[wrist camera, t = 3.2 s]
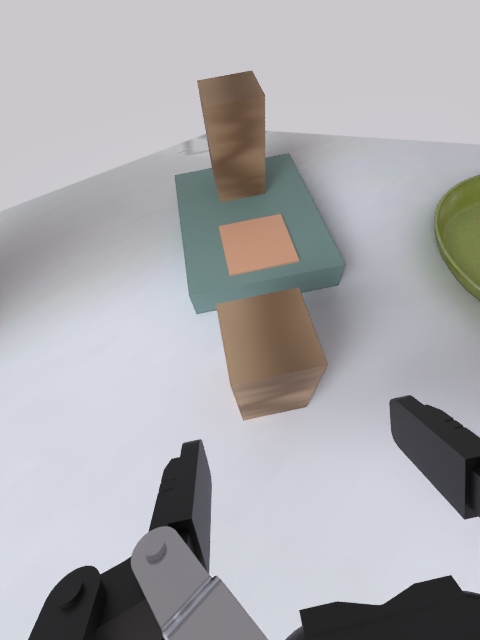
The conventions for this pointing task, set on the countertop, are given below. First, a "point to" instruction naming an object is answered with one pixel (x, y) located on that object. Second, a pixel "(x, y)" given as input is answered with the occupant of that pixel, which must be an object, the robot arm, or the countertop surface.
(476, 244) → the saucer
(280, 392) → the walnut block
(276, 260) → the build board
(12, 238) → the countertop surface
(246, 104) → the walnut column
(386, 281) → the countertop surface
